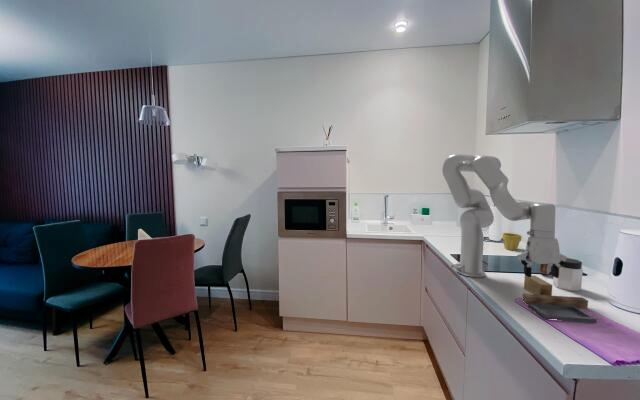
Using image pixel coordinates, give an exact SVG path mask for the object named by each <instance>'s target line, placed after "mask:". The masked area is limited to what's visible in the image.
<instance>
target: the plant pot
mask: <svg viewBox="0 0 640 400" xmlns="http://www.w3.org/2000/svg"><path fill="white" fill-rule="evenodd" d="M501 238H502V240H503V247H504V249H505V250H508V251H517V250H518V247H519V244H520V242H521V241H522V238H523V237H522V235H521V234H518V233H513V232H512V233H511V232H503V233H501Z"/></svg>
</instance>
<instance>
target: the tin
mask: <svg viewBox="0 0 640 400" xmlns="http://www.w3.org/2000/svg"><path fill="white" fill-rule="evenodd" d="M551 266H553V265H552V264H540V268H539V274H542V275H545V276H548V275H549V274H551V273H550V272H551Z"/></svg>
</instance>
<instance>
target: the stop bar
mask: <svg viewBox="0 0 640 400" xmlns="http://www.w3.org/2000/svg"><path fill="white" fill-rule="evenodd" d="M523 282H524V283H523V289H524V290H525V291H527V292H528V293H530V294H532V295H549V296H553V294H552V293H553V284H552V283H550V282H547V281H546V280H544V279H542V278H540V277H538V276H537V275H533V274H531V277H528V276H526V275H525V274H524V281H523Z"/></svg>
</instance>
